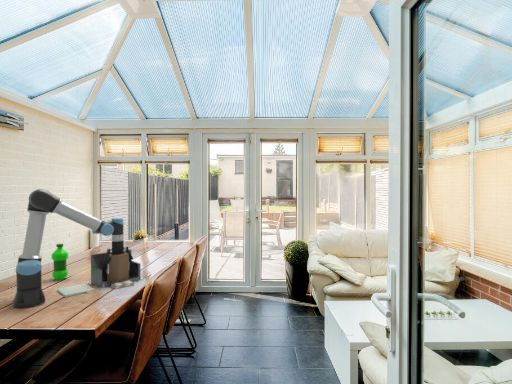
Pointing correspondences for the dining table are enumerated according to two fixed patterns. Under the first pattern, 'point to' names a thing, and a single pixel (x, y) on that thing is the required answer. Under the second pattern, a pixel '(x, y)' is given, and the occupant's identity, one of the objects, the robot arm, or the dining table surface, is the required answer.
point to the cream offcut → (122, 284)
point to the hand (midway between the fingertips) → (118, 271)
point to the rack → (101, 273)
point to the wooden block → (118, 267)
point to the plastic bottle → (59, 262)
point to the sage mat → (75, 290)
